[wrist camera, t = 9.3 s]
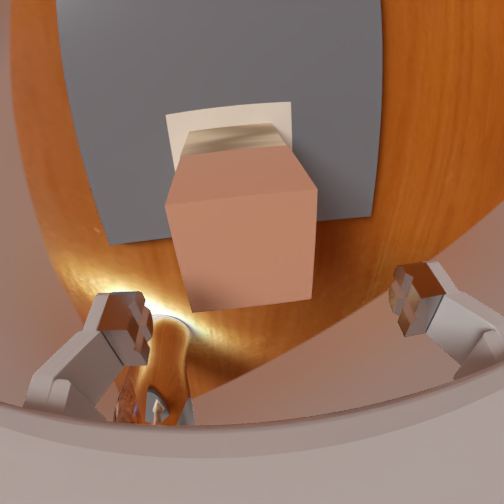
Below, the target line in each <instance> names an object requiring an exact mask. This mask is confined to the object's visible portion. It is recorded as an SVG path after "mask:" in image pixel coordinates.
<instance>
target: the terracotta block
mask: <svg viewBox="0 0 504 504" xmlns="http://www.w3.org/2000/svg"><path fill="white" fill-rule="evenodd" d="M317 193H318V189H317V188H316V186H315V185H314V183H313V182H312V180H311V179H310V177H309V176H308V174H307V173H306V171H305V170H304V168H303V167H302V165H301V164H300V162H299V161H298V159H297V158H296V156H295V155H294V153H293V152H292V151H291V149H290V148H289V146H288V145H284V146H270V147H258V148H247V149H237V150H228V151H219V152H210V153H203V154H195V155H188V156H181V157H180V160H179V163H178V166H177V169H176V172H175V175H174V178H173V181H172V184H171V187H170V190H169V193H168V196H167V200H166V203H165V210H166V214H167V219H168V223H169V227H170V231H171V235H172V239H173V243H174V247H175V251H176V255H177V259H178V263H179V267H180V270H181V274H182V278H183V281H184V285H185V289H186V292H187V296H188V299H189V303H190V306H191V310H192V313H194V312H204V311H215V310H224V309H234V308H243V307H252V306H260V305H269V304H277V303H285V302H292V301H300V300H307V299H311V296H312V283H313V270H314V255H315V238H316V218H317Z"/></svg>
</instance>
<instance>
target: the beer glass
mask: <svg viewBox="0 0 504 504" xmlns="http://www.w3.org/2000/svg"><path fill="white" fill-rule="evenodd" d="M152 319H153V336H152V338H151V339H150V340H149V341H148V342H147V343H148V345H149V347H150V353H149V359H148V365H146V366H130V367H129V370H128V373H127V375H126V378H125V380H124V383H123V385H122V388H121V391H120V394H119V397H118V400H117V403H116V407H115V411H114V417H113V422H118V423H130V424H146V425H174V426H195V419H194V411H193V405H192V399H191V394H190V388H189V383H188V377H187V357H188V353H189V349H190V345H191V341H192V334H191V331H190V329H189V328H188V327H187V326H186V325H185V324H184V323H183V322H181V321H180V320H178V319H176V318H173V317H170V316H166V315H152Z"/></svg>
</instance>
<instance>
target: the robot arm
mask: <svg viewBox="0 0 504 504" xmlns="http://www.w3.org/2000/svg"><path fill="white" fill-rule="evenodd" d="M394 277H395V279H396V280H395V281H394V282H393V283H392V284H391V285H390V289H389V302H390V306H391V308H392V311H393V312H394V313H395V314H397V315H398V316H399V319H398V324H399V326H400V328H401V330H402V332H403V335H404V337H407V336H412V335H418V334H423V333H426V335H427V336H428V337H429V338H431V339H432V340H433V341H434V342H435V343H436V344H438V345H439V346H440V347H441V348H442V349H443V350H444V351H446V352H447V353H448V354H449V355H450V356H451V357H452V358H453V359H455V360H456V361H457V362H458V363H459V364H460V365H461V367H460V368H459V370H458V371H457V372H456V373H455V375H454V377H453V379H454V381H451V382H448V383H445V384H442V385H439V386H437V387H434V388H430V389H427V390H424V391H421V392H417V393H414V394H410V395H407V396H403V397H400V398H396V399H392V400H388V401H384V402H381V403H376V404H372V405H368V406H363V407H359V408H354V409H349V410H344V411H339V412H333V413H328V414H322V415H316V416H309V417H302V418H295V419H287V420H279V421H269V422H259V423H247V424H231V425H201V426H174V425H146V424H130V423H118V422H108V421H106V418H105V417H104V415H103V414H102V413H101V412H99V411H98V410H97V409H96V408H95V405H96V404H97V403H98V401H99V400H100V399H101V397H102V396H103V395H104V393H105V392H106V391H107V389H108V388H109V386H110V385H111V384H112V383H113V381H114V380H115V379H116V377H117V376H118V375H119V373H120V372H121V371H122V369H123V368H124V366H146V365H148V359H149V353H150V347H149V345H148V343H147V342H148V341H149V340H150V339H151V338H152V336H153V319H152V315H151V312H150V310H149V309H148V308H146V307H145V306H144V303H145V298H144V296H143V294H142V292H139V291H137V292H112V293H98V294H97V295H96V296H95V299H94V301H93V304H92V306H91V309H90V312H89V314H88V317H87V320H86V322H85V325H84V328H83V331H79V332H77V333H76V334H75V335H74V336H73V337H72V338H71V339H70V340H69V341H68V342H67V343H66V344H64V345H63V346H62V347H61V348H60V349H59V350H58V351H57V352H56V353H55V354H54V355H53V356H52V357H51V358H50V359H49V360H48V361H47V362H46V363H45V364H44V365H43V366H41V367H40V368H39V370H37V371H36V372H35V373H34V374H33V377H32V380H31V383H30V386H29V389H28V392H27V395H26V398H25V402H24V405H23V407H20V406H15V405H12V404H7V403H4V402H0V504H504V317H503V316H502V315H500V314H499V313H497V312H496V311H494V310H492V309H491V308H489V307H488V306H486V305H484V304H483V303H481V302H479V301H478V300H476V299H475V298H473V297H471V296H470V295H468V294H466V293H465V292H463V291H461V292H459V291H458V289H457V288H456V286H455V285H454V283H453V282H452V280H451V279H450V277H449V276H448V275H447V273H446V272H445V270H444V269H443V267H442V266H441V265H440V263H439V262H438V261H436V260H431V261H425V262H419V263H412V264H405V265H398V266H397V267H396V269H395V271H394Z"/></svg>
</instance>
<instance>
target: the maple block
mask: <svg viewBox="0 0 504 504" xmlns="http://www.w3.org/2000/svg"><path fill="white" fill-rule="evenodd" d="M284 145H286V144H285V142H284V141H283V139H282V138H281V137H280V135H279V134H278V132H277V131H276V129H275V128H274V127H273V125H272V124H271V123H262V124H249V125H238V126H229V127H220V128H211V129H203V130H196V131H189V133H188V136H187V139H186V141H185V144H184V147H183V150H182V152H181V155H180V157H181V156H188V155H195V154H203V153H210V152H219V151H228V150H237V149H247V148H258V147H270V146H284Z"/></svg>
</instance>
